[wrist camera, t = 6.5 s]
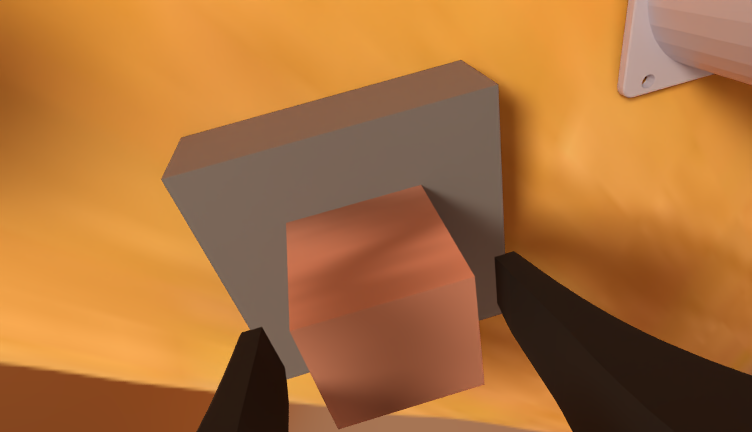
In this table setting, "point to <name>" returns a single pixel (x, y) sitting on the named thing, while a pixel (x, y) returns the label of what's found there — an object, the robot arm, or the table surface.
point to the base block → (343, 181)
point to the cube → (382, 306)
